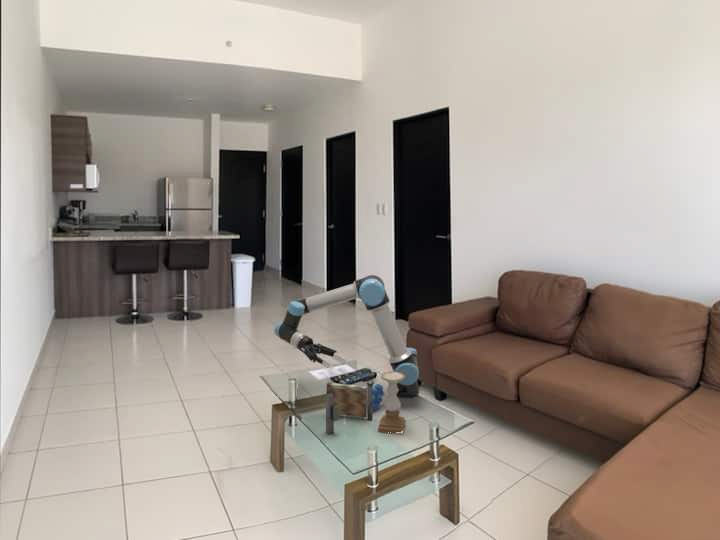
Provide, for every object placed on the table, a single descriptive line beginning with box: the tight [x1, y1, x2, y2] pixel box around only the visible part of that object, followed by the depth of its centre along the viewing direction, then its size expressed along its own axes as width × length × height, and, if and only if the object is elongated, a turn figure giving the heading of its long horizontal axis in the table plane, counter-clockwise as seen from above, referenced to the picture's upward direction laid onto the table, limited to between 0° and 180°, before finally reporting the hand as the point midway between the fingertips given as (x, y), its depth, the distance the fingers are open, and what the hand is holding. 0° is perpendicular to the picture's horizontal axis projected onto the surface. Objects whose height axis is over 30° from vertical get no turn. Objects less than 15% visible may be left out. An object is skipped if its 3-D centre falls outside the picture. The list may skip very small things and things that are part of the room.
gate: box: [326, 382, 368, 419], centre depth 238 cm, size 18×2×14 cm, turn 77°
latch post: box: [325, 393, 340, 435], centre depth 223 cm, size 4×4×17 cm
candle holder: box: [377, 371, 407, 434], centre depth 228 cm, size 11×11×24 cm
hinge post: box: [366, 380, 375, 422], centre depth 236 cm, size 3×3×18 cm
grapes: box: [373, 383, 385, 412], centre depth 248 cm, size 12×7×12 cm, turn 151°
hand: (337, 363), depth 239 cm, fingers open, 13 cm apart
